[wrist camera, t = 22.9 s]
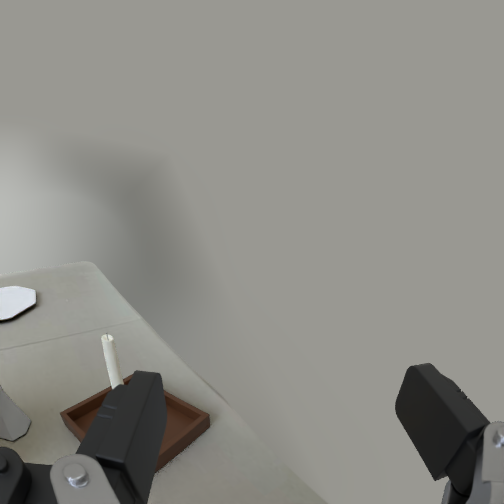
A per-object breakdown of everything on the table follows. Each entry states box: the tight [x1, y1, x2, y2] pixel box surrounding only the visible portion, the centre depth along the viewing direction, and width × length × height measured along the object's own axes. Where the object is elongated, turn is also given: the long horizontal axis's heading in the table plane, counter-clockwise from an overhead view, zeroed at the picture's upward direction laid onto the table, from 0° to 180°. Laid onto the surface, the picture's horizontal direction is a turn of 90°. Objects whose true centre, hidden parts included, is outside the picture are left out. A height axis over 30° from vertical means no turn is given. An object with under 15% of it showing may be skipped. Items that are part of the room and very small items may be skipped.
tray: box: [60, 374, 210, 473], centre depth 34 cm, size 16×16×3 cm
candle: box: [101, 333, 124, 389], centre depth 32 cm, size 5×5×16 cm
